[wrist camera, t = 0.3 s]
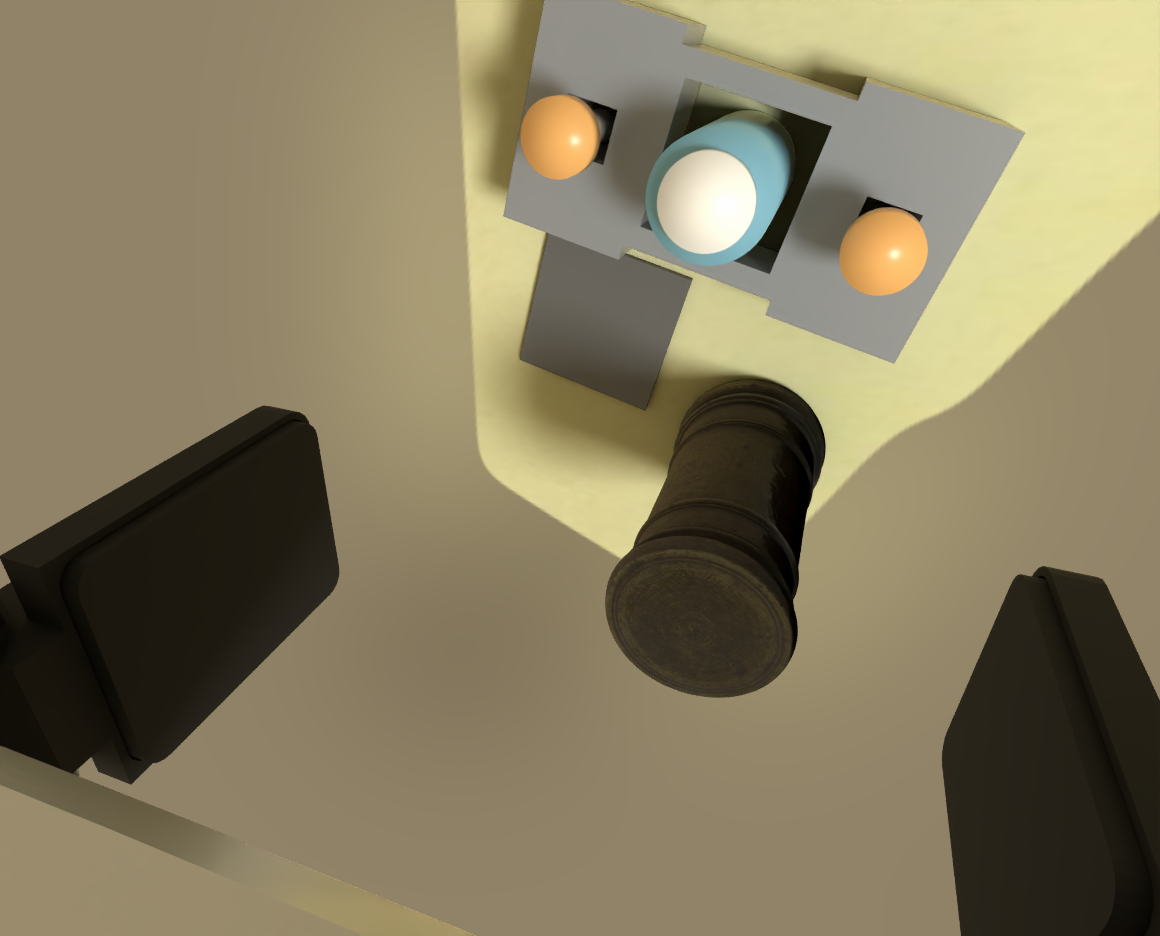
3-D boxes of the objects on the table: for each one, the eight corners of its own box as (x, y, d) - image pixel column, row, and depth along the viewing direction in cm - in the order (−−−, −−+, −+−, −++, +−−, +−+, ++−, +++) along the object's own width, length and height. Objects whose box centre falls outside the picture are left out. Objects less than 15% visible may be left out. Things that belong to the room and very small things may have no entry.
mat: (552, 225, 43) (549, 227, 43) (692, 278, 42) (691, 280, 42) (521, 357, 48) (519, 359, 48) (646, 407, 47) (644, 410, 47)
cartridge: (713, 95, 37) (664, 112, 28) (813, 129, 36) (795, 157, 27) (678, 200, 40) (625, 245, 31) (770, 233, 39) (742, 289, 31)
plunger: (576, 79, 36) (529, 85, 31) (638, 100, 36) (600, 110, 31) (560, 149, 38) (513, 165, 33) (619, 170, 38) (581, 190, 33)
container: (663, 472, 49) (575, 655, 34) (707, 355, 44) (625, 512, 29) (791, 522, 48) (755, 736, 33) (850, 407, 43) (840, 599, 28)
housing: (580, -15, 37) (548, -22, 33) (1008, 122, 34) (1025, 132, 30) (534, 201, 43) (503, 216, 39) (891, 334, 40) (894, 363, 36)
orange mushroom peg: (863, 177, 34) (862, 200, 29) (933, 201, 34) (944, 229, 29) (831, 246, 36) (825, 279, 31) (897, 269, 36) (901, 307, 31)
